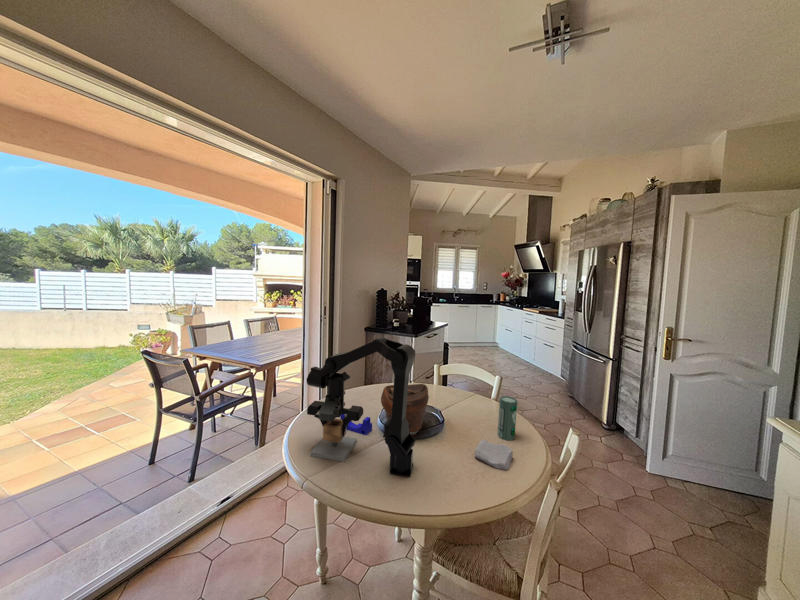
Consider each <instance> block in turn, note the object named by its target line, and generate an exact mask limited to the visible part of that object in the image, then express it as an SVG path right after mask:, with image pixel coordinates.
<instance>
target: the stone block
mask: <svg viewBox="0 0 800 600" xmlns="http://www.w3.org/2000/svg"><path fill="white" fill-rule="evenodd" d="M513 455H514V453H513V449H512V448H511V447H509V446H508V445H504V444H500V443H497V444H496V443H492V442H489V441H488V440H486V439H482V440H480V441H479V443H478V444H477V446H476V448H475V451H474V457H475V458H476V459H478V460H480V461H481V462H484V463H485V464H487V465H489V466H491V467H493V468H495V469H498V470H504V471H508V470H509V469H510V467H511V462H512V460H513Z"/></svg>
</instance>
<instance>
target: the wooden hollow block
mask: <svg viewBox="0 0 800 600" xmlns="http://www.w3.org/2000/svg"><path fill="white" fill-rule="evenodd" d="M342 429H343V421H342V419H340V418H335V419H334V421H332V422H329V421H327V423H326V424H325V425H324V426H322V438H323V440H325V441H332V442H338V443H340V441H341V440H342V439H343V437H344V436H345V437H346V435H347V431H346V432H345V435H344V436H342Z"/></svg>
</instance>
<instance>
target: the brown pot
mask: <svg viewBox="0 0 800 600" xmlns="http://www.w3.org/2000/svg"><path fill="white" fill-rule="evenodd" d="M393 389H394V384H390V385H385V387H383V389H382V393H381V396H380V402H381V407H383V409H384V410H385V415H386V419H387V420H386V423H387V422H388V421H389V419H390V418H391V416H392V403H393ZM429 399H430V396H429V388H428V386H427V385H426V384H424V383H418V384H417V383H415V384H408V394H407V407H406V419H407V421H408V425H409V432H415V431H418V430H420V429H421V430H422V426H423V422H424V418H425V413H426V410H427V406H428V402H429ZM421 430H420V431H421ZM411 435H412V436H413V437H414V436H415V435H417V434H415V435H414V434H411Z"/></svg>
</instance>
